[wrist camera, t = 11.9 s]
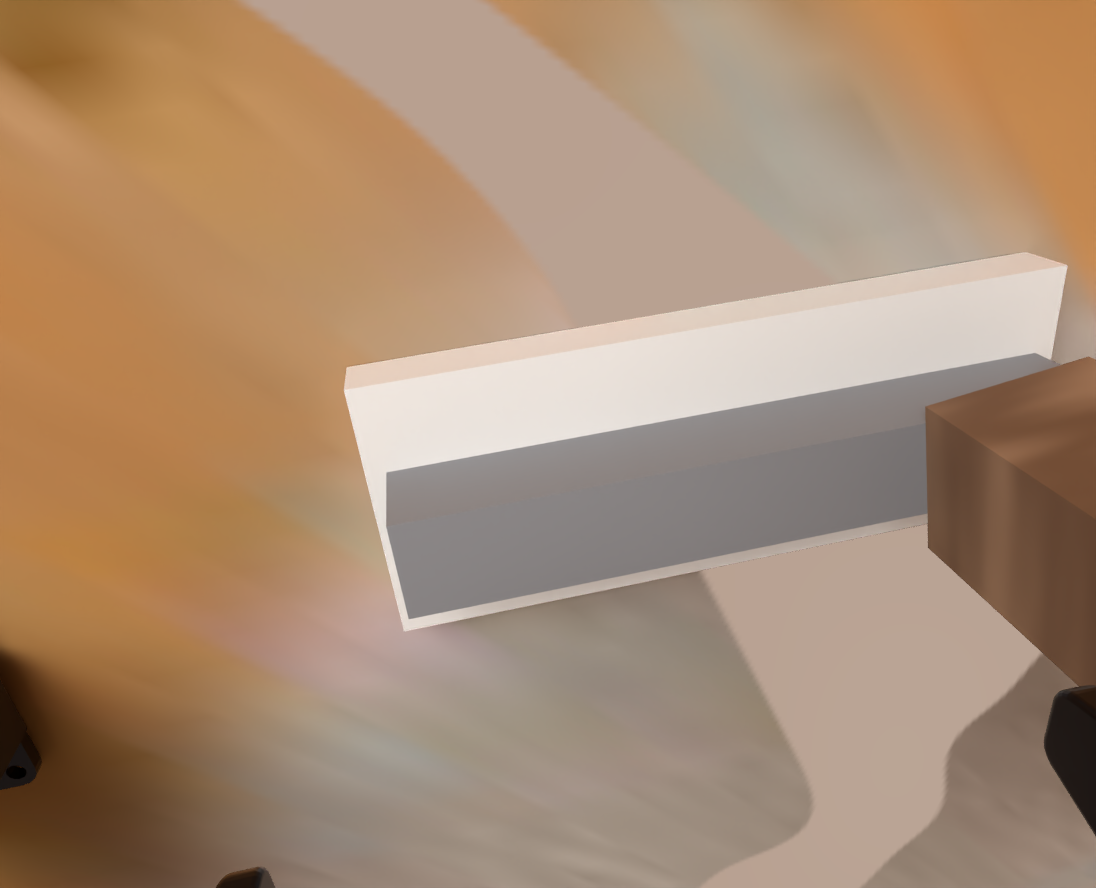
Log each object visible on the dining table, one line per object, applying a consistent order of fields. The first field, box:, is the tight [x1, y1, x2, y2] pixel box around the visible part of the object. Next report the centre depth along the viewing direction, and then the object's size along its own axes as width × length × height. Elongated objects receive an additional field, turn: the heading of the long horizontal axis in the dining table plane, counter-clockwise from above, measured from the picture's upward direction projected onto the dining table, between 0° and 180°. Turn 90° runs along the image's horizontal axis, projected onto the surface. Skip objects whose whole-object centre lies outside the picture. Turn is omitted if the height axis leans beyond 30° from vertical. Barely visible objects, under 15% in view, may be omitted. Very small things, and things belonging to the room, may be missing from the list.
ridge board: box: [344, 252, 1067, 631], centre depth 20 cm, size 18×7×4 cm, turn 97°
